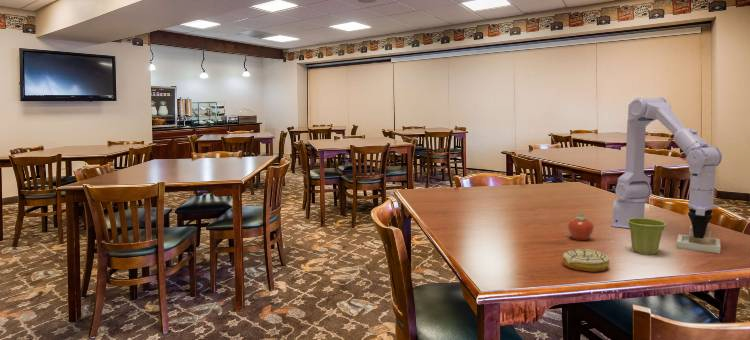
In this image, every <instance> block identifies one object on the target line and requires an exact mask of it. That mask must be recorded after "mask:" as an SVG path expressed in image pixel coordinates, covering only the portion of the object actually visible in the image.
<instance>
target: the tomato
mask: <svg viewBox="0 0 750 340" xmlns="http://www.w3.org/2000/svg"><path fill="white" fill-rule="evenodd" d="M594 229H595V228H594V224H593V222H592V221H590V220H589V219H588V218H587V217H584V216H583V214H582V213H579V215H578V216H575V218H572V219H571V220H569V222H568V223H567V230H568V234H569V235H570V236H571V237H572V238H574V240H575V239H576V240H577V241H586V240H588V239H590V237H591V236H592V234H593V232H594ZM576 240H575V241H576Z"/></svg>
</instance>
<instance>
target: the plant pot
mask: <svg viewBox="0 0 750 340" xmlns="http://www.w3.org/2000/svg"><path fill="white" fill-rule="evenodd" d="M627 222H628V223H629V227H630V228H629V230H630V241H631V251H633V252H634V253H639V254H641V255H649V256H651V255H652V256H653V255H656V254H658V252H659V251H658V250H659V247H660V244H661V243H660V242H661V238H662V236H663V232H664V230H665V227H666V226H667V222H664V221H662V220H659V219H653V218H648V217H647V218H646V217H644V218H630V219H628V220H627Z"/></svg>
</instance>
